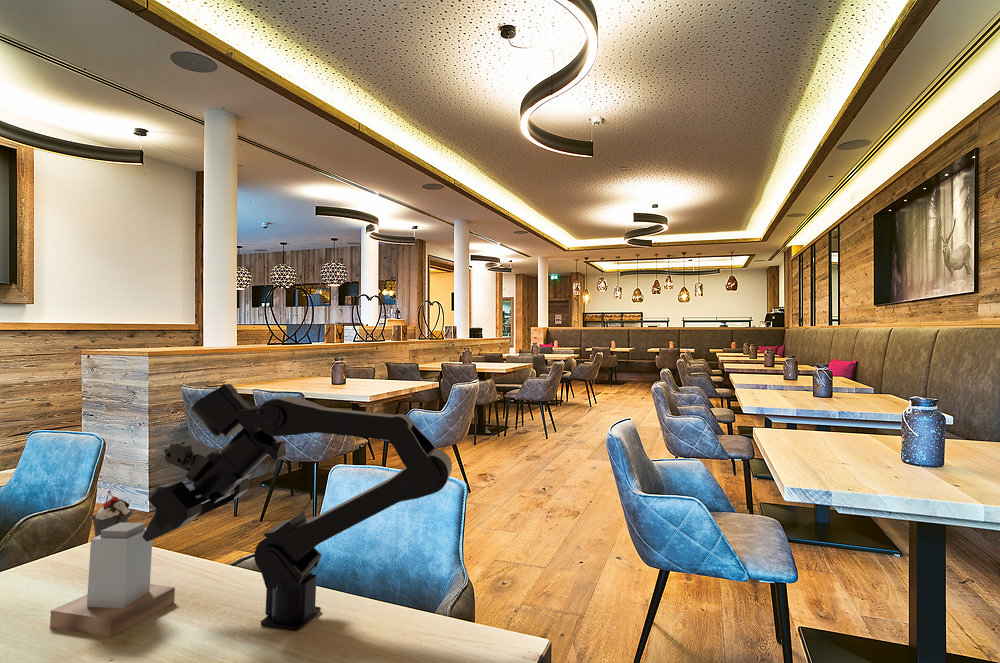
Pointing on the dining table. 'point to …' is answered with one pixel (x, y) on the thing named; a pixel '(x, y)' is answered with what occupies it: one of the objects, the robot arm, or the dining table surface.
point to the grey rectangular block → (119, 566)
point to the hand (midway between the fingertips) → (165, 529)
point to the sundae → (111, 514)
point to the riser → (110, 613)
